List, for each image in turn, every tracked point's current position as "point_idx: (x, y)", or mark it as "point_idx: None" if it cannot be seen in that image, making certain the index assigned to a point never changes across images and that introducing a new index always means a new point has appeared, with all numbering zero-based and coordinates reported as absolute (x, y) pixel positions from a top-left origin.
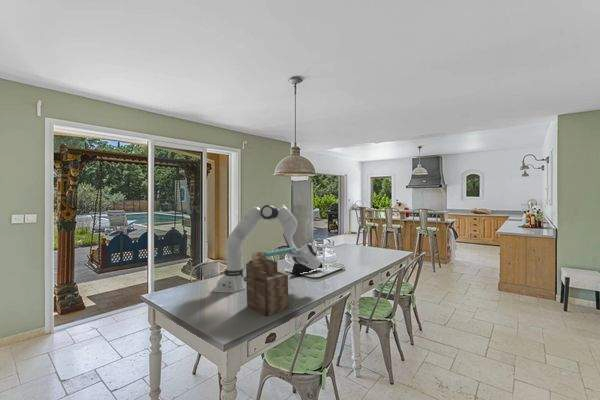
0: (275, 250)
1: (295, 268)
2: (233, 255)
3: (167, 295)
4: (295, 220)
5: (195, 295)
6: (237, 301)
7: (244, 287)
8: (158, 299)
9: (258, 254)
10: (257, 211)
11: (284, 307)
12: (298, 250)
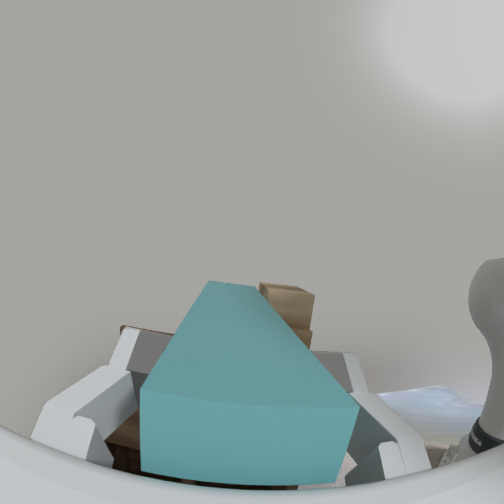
0: (265, 301)
1: None
2: (490, 351)
3: (439, 401)
4: None
5: (428, 428)
6: (328, 485)
7: None
8: (418, 393)
9: (260, 291)
10: None
11: None
12: (45, 452)
